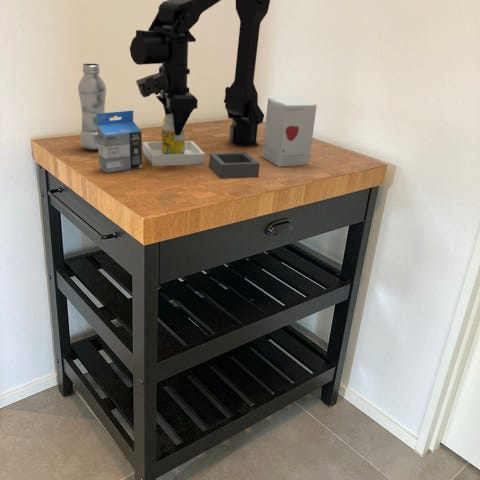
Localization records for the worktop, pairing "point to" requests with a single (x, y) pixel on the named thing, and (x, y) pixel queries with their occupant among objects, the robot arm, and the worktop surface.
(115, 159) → the label tape box
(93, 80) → the plastic bottle
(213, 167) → the socket collar
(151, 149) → the tray
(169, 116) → the supplement bottle
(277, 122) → the supplement box
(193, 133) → the worktop surface
